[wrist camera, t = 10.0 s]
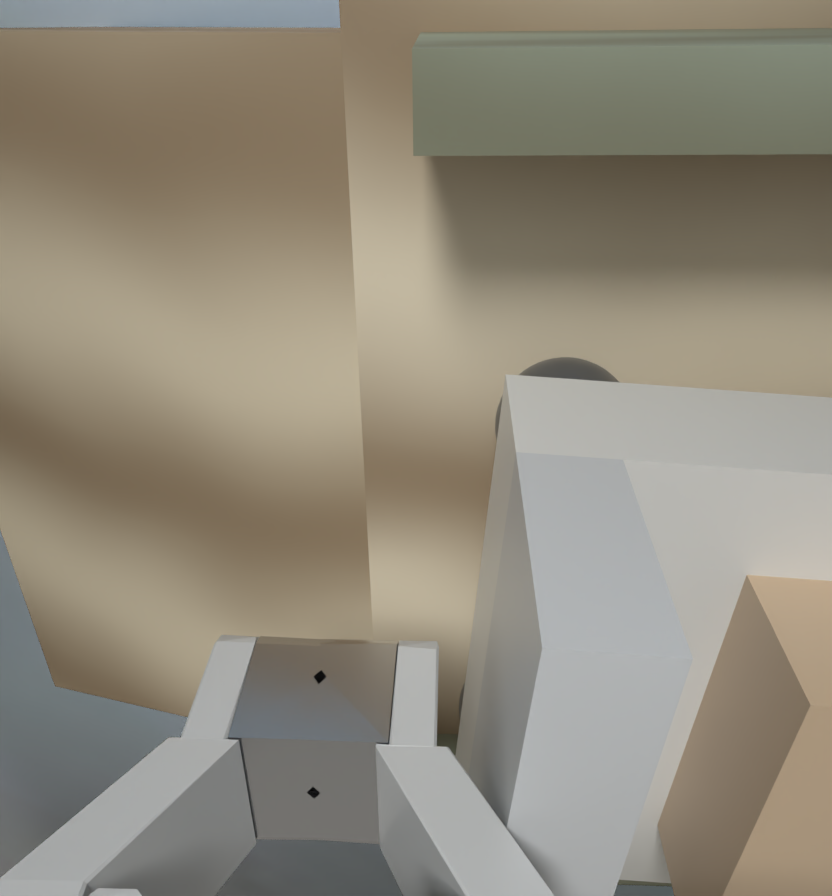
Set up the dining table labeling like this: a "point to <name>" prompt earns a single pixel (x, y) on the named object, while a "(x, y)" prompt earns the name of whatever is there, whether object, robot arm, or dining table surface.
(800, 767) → the cart
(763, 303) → the dock
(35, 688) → the dining table surface
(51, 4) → the dining table surface
